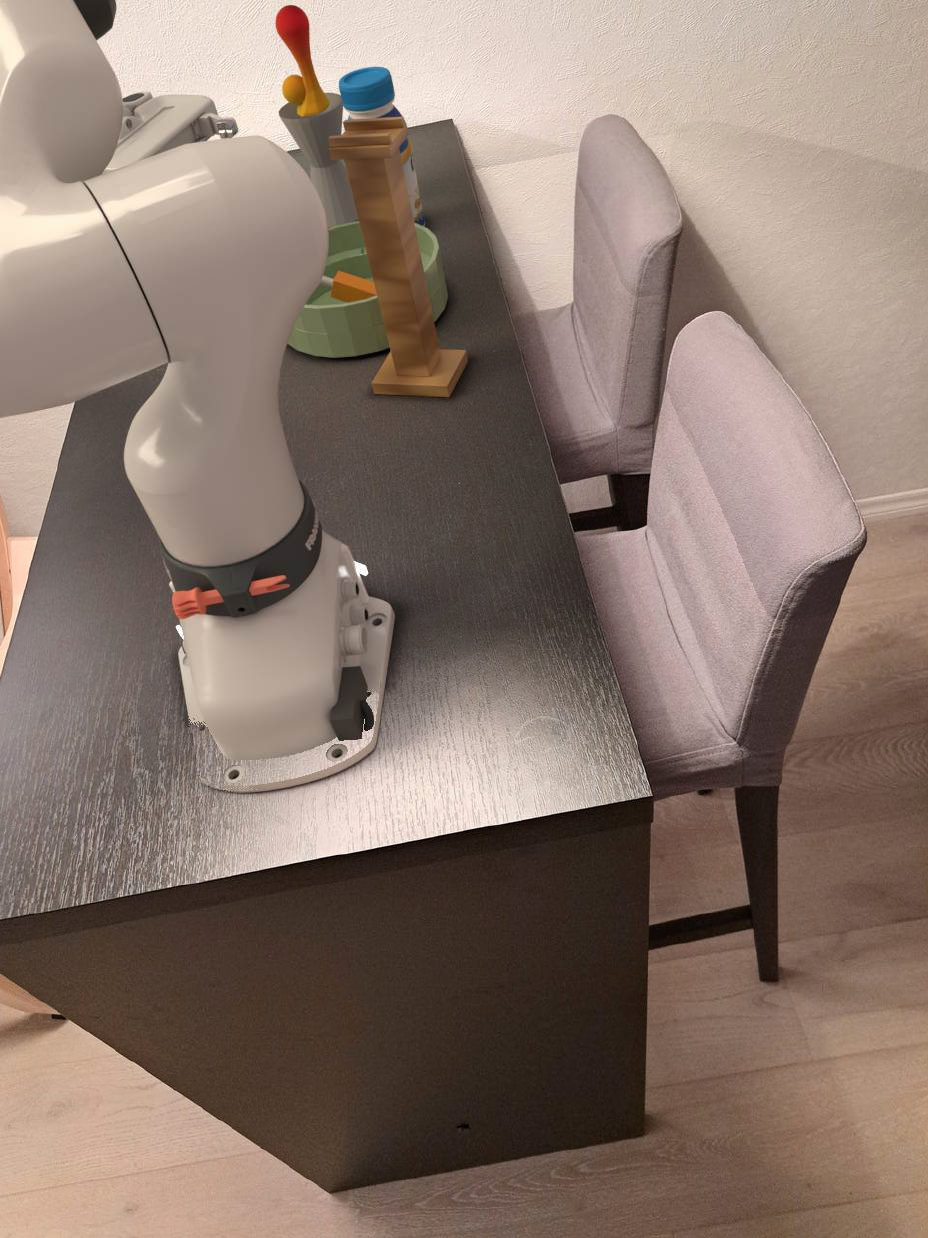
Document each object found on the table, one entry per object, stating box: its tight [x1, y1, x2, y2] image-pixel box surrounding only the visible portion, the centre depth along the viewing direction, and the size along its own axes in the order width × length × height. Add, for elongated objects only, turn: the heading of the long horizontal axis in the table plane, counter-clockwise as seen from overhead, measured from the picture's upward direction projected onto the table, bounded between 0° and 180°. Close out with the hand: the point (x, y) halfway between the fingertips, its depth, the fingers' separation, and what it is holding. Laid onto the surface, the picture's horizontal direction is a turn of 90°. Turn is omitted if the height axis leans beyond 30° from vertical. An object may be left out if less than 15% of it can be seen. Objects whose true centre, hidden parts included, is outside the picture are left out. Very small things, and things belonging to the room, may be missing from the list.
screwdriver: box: [320, 271, 377, 303], centre depth 115 cm, size 16×2×2 cm, turn 79°
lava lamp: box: [274, 4, 359, 228], centre depth 126 cm, size 9×9×35 cm
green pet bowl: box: [287, 220, 449, 359], centre depth 115 cm, size 21×21×7 cm
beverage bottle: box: [338, 66, 426, 227], centre depth 125 cm, size 8×8×20 cm
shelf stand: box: [328, 116, 469, 398], centre depth 96 cm, size 9×7×27 cm
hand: (215, 144), depth 107 cm, fingers open, 8 cm apart
